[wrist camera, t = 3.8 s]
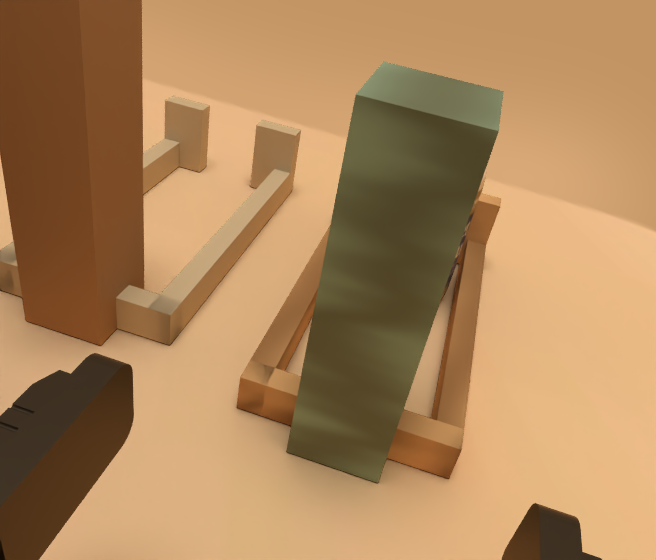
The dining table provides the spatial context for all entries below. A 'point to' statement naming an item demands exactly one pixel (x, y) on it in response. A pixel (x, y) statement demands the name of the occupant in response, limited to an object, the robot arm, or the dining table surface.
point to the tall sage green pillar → (387, 282)
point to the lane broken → (105, 173)
